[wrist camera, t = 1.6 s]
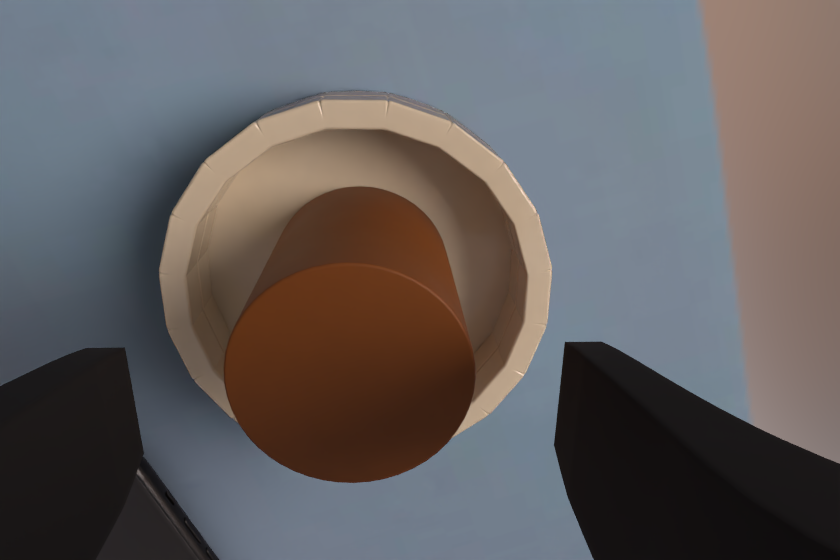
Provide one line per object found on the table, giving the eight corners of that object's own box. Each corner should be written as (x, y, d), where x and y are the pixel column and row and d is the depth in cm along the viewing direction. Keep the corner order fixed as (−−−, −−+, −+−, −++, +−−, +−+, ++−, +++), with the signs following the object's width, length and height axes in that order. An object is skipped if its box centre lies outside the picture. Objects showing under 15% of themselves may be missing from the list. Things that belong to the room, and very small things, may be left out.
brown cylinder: (445, 346, 17) (471, 481, 12) (280, 349, 17) (235, 487, 12) (450, 185, 16) (482, 261, 10) (267, 185, 15) (209, 263, 10)
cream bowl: (519, 409, 18) (535, 456, 16) (208, 414, 18) (186, 464, 16) (544, 91, 15) (568, 101, 13) (166, 88, 15) (131, 98, 13)
